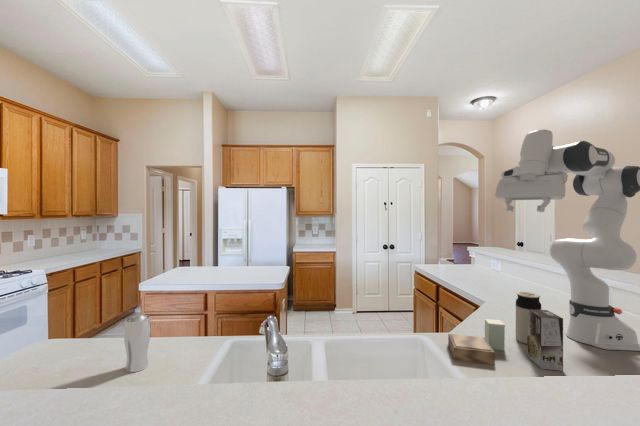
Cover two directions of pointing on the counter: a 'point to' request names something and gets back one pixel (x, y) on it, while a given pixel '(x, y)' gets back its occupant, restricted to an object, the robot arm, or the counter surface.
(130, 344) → the beer glass
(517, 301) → the travel mug
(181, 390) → the counter surface
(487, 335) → the tea tin
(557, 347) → the coffee box
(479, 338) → the square wooden tray
